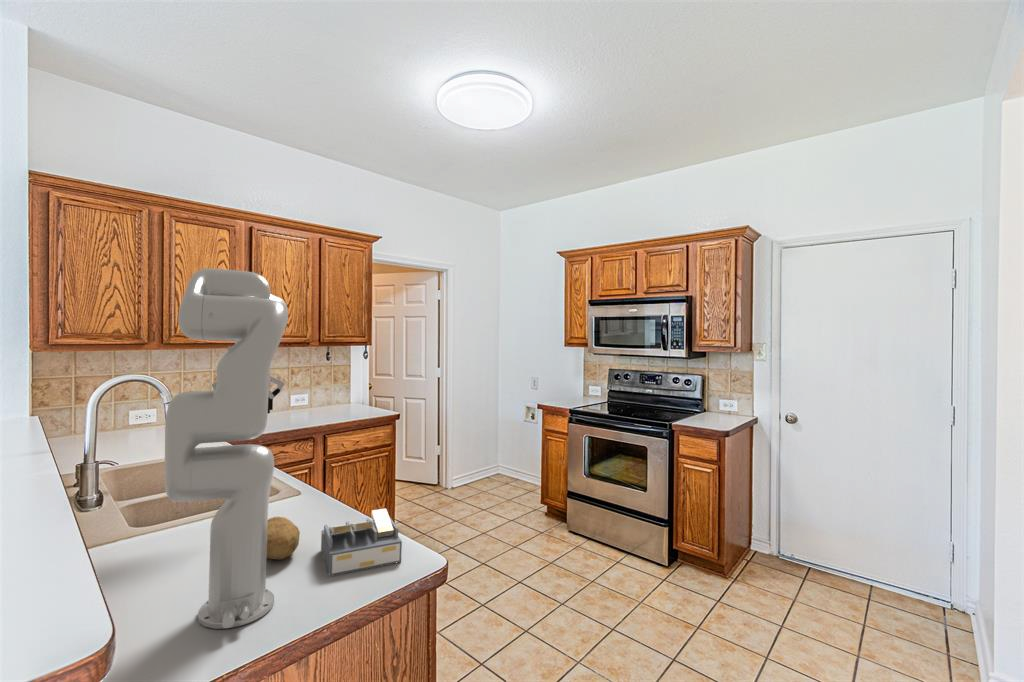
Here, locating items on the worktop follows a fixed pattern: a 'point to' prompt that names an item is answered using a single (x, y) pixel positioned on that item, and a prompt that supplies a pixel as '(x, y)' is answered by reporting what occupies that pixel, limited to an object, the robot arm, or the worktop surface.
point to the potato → (281, 538)
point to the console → (359, 549)
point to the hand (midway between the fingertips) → (248, 413)
